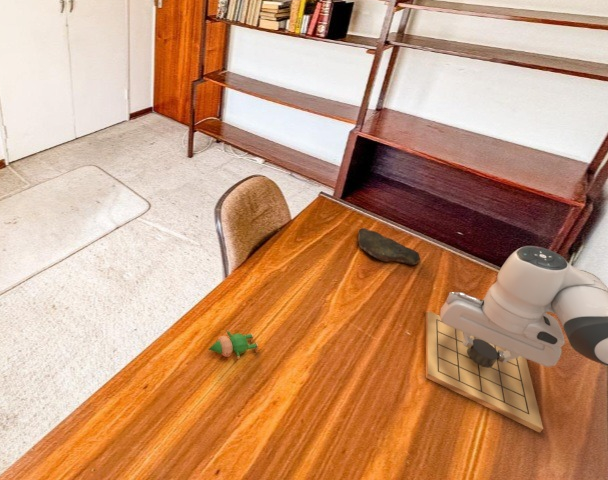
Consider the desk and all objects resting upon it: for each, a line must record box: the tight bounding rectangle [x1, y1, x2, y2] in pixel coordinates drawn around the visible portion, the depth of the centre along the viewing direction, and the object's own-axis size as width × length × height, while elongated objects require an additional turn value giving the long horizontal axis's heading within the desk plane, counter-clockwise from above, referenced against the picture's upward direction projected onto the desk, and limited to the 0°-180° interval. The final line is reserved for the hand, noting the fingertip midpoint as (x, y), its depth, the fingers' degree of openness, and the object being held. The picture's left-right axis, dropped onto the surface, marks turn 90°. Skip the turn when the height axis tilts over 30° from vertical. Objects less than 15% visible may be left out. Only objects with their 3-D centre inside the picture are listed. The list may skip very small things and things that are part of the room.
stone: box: [357, 227, 421, 266], centre depth 124 cm, size 18×11×3 cm, turn 49°
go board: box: [425, 310, 544, 434], centre depth 93 cm, size 20×20×2 cm
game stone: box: [467, 339, 498, 368], centre depth 91 cm, size 5×5×3 cm
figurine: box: [208, 329, 259, 360], centre depth 93 cm, size 4×7×12 cm
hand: (483, 352), depth 91 cm, fingers closed on game stone, 5 cm apart
